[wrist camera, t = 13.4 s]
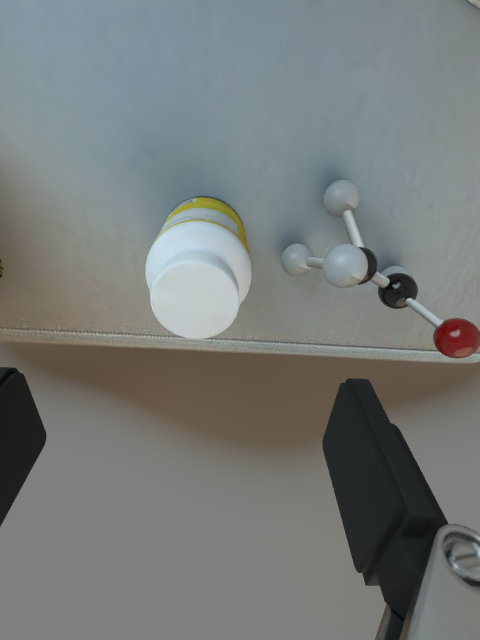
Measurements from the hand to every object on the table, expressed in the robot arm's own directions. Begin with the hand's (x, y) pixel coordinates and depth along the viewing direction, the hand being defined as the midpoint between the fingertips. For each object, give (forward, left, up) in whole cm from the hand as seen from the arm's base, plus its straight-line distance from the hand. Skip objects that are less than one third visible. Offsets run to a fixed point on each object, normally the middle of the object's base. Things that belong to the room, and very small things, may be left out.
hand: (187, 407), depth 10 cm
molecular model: (-13, +2, -20) cm, 23 cm away
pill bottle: (0, +1, -20) cm, 20 cm away
